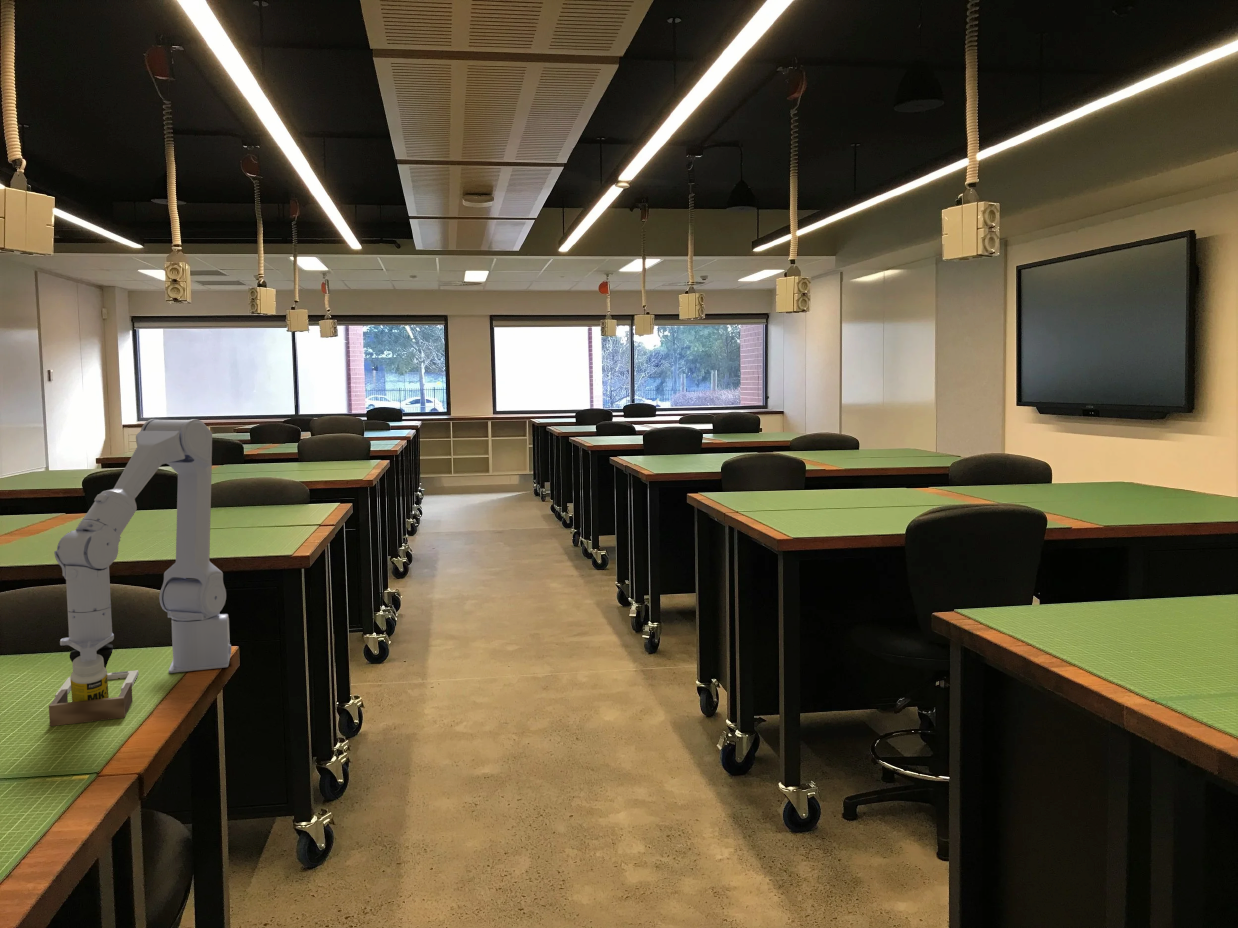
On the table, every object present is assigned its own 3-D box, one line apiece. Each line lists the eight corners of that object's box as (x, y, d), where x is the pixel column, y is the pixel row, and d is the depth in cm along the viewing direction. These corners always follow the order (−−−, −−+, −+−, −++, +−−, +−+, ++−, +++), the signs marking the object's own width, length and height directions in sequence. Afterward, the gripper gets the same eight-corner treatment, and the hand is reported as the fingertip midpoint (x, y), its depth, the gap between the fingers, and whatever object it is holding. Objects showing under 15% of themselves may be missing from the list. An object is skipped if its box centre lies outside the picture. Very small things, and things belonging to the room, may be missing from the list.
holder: (132, 700, 140) (131, 682, 140) (124, 717, 133) (123, 697, 133) (62, 708, 137) (61, 689, 137) (49, 726, 130) (48, 705, 129)
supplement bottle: (89, 721, 132) (85, 672, 130) (65, 711, 134) (61, 663, 131) (116, 704, 137) (113, 657, 134) (92, 695, 138) (89, 648, 135)
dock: (138, 674, 154) (138, 669, 153) (129, 691, 144) (129, 686, 144) (68, 681, 150) (68, 676, 150) (55, 699, 141) (55, 694, 141)
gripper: (62, 601, 141) (67, 685, 142) (54, 621, 128) (59, 713, 129) (114, 596, 144) (117, 678, 145) (110, 616, 131) (114, 705, 132)
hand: (93, 694), depth 137 cm, fingers closed
